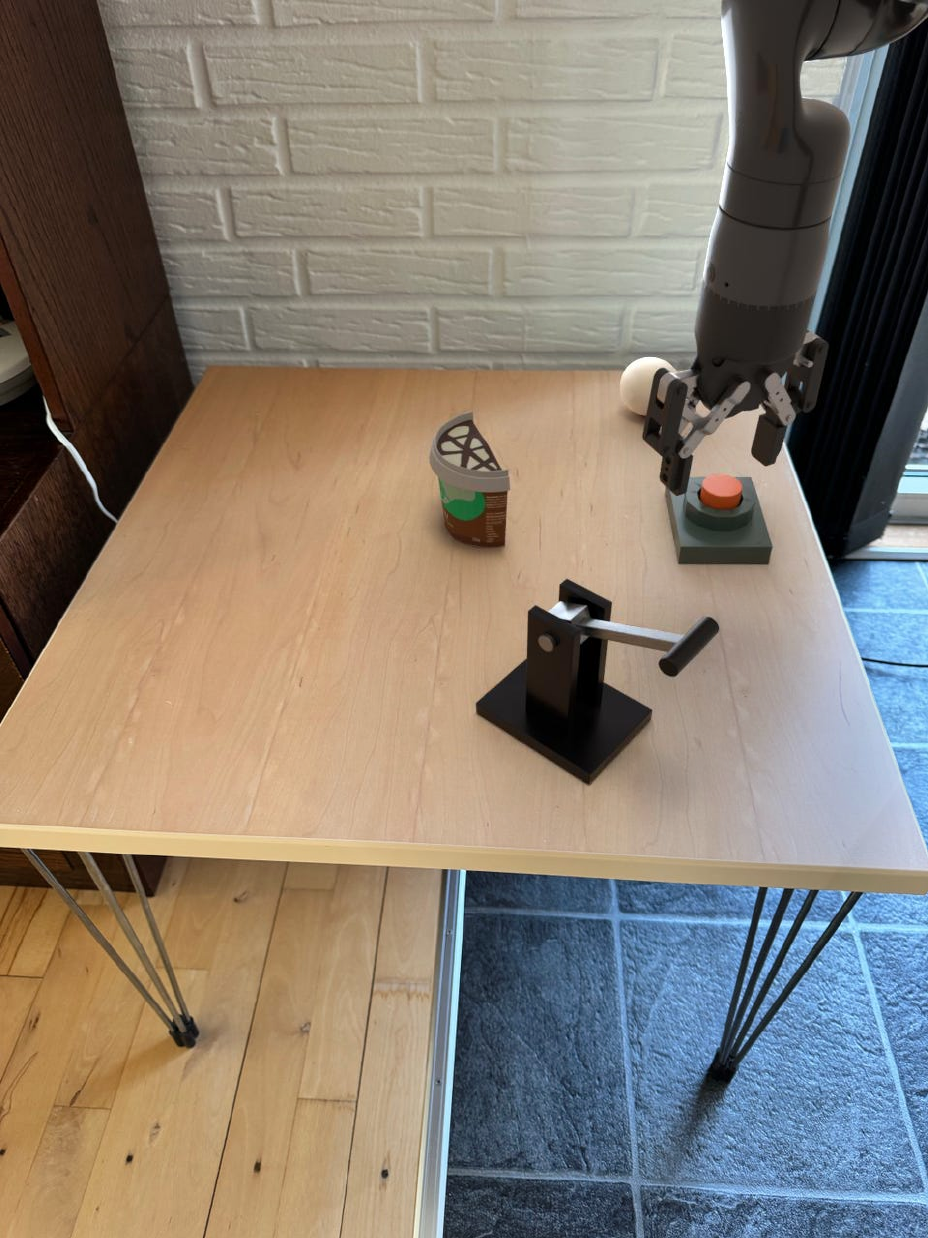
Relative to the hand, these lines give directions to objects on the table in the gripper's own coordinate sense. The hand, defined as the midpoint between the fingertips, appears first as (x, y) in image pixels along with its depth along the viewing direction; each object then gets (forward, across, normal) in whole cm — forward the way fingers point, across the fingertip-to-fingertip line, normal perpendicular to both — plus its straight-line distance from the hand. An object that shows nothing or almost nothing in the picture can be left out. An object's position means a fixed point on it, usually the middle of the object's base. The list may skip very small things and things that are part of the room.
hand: (719, 474), depth 76 cm
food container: (+20, -10, +25) cm, 34 cm away
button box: (+19, +13, +12) cm, 26 cm away
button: (+15, +13, +13) cm, 24 cm away
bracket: (+19, -14, -3) cm, 24 cm away
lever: (+7, -13, -7) cm, 16 cm away
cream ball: (+20, +20, +35) cm, 45 cm away
